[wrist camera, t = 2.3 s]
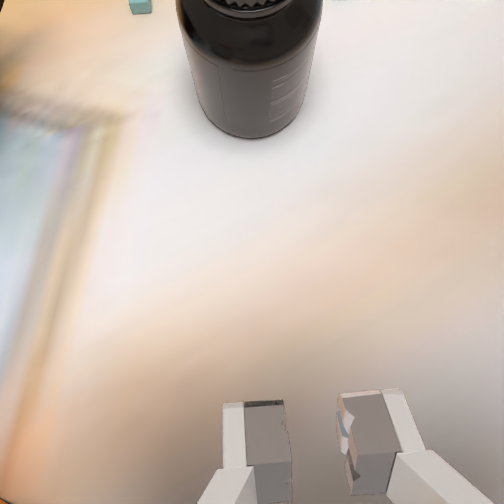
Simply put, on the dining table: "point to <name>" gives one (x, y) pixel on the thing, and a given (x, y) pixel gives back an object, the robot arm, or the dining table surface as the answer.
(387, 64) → the dining table surface
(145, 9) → the teal frame
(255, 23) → the supplement bottle
